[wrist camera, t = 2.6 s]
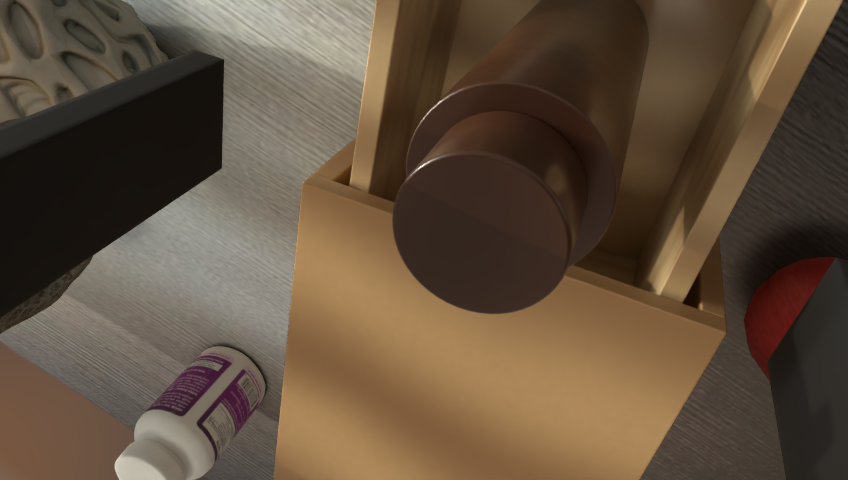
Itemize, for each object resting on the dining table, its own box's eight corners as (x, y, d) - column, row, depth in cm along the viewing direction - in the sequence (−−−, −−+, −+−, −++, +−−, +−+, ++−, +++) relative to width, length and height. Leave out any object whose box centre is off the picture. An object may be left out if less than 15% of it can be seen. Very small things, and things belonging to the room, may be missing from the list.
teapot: (29, -155, 32) (-386, -160, 19) (239, -84, 30) (-72, -39, 18) (63, 209, 44) (-181, 347, 31) (214, 275, 42) (18, 449, 30)
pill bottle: (194, 376, 48) (97, 479, 40) (210, 330, 45) (108, 432, 37) (257, 415, 47) (172, 527, 40) (278, 372, 44) (190, 483, 37)
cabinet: (408, 92, 31) (301, 182, 23) (715, 189, 29) (728, 333, 20) (359, 355, 41) (271, 489, 32) (586, 446, 38) (556, 618, 30)
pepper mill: (668, -2, 24) (646, 169, 11) (622, 118, 27) (559, 372, 14) (543, -36, 25) (382, 86, 12) (510, 84, 28) (349, 291, 14)
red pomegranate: (915, 303, 28) (983, 438, 22) (781, 352, 31) (806, 482, 25) (846, 200, 27) (896, 309, 21) (715, 261, 30) (722, 372, 24)
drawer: (503, -369, 21) (410, -482, 14) (941, -292, 19) (1094, -380, 12) (398, 181, 33) (317, 272, 26) (663, 272, 31) (655, 401, 23)
